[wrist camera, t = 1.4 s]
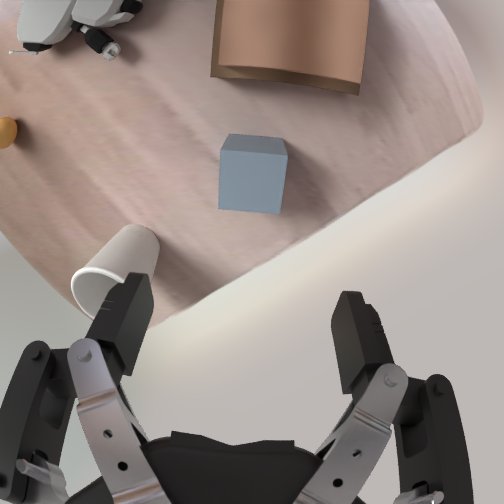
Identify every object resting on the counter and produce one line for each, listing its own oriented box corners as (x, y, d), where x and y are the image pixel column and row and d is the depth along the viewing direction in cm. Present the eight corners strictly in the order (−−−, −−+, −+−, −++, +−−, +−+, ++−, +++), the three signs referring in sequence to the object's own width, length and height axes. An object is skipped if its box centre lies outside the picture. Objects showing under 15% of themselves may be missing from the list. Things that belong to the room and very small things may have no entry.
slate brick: (226, 182, 28) (218, 209, 23) (229, 133, 25) (220, 150, 20) (276, 186, 28) (279, 214, 23) (282, 138, 25) (287, 155, 20)
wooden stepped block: (216, 77, 21) (203, 77, 17) (226, -34, 14) (217, -59, 10) (347, 92, 22) (371, 99, 17) (359, -16, 15) (383, -33, 10)
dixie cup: (165, 278, 35) (143, 340, 27) (107, 259, 34) (74, 314, 26) (176, 225, 31) (148, 287, 23) (110, 205, 29) (66, 257, 21)
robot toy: (177, -36, 14) (63, -40, 10) (166, -51, 11) (42, -47, 7) (126, 66, 21) (25, 50, 17) (107, 67, 17) (1, 54, 13)
